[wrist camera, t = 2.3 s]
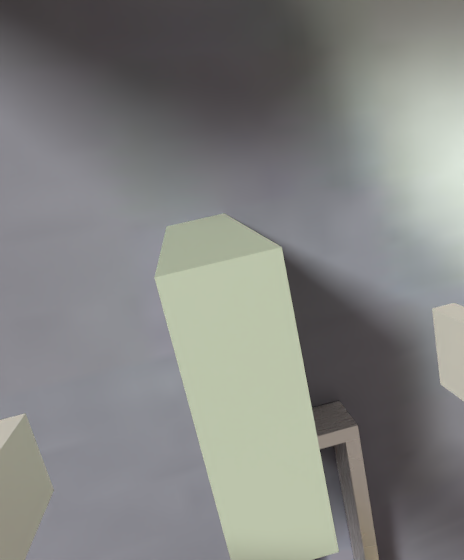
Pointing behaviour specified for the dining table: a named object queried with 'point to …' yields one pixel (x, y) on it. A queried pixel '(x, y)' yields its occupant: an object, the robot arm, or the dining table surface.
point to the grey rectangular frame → (349, 475)
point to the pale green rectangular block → (246, 387)
